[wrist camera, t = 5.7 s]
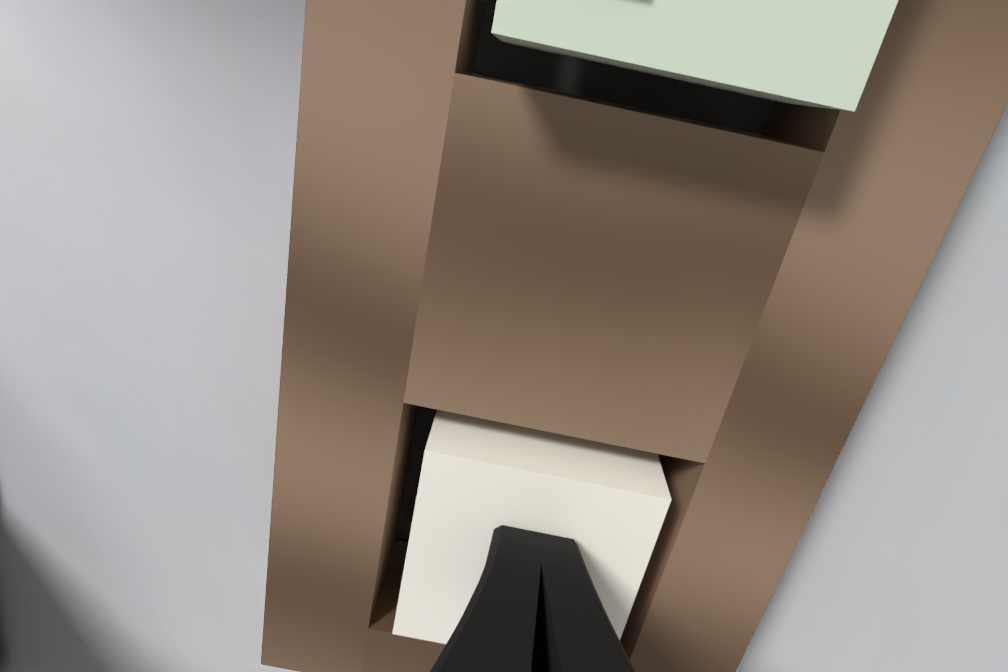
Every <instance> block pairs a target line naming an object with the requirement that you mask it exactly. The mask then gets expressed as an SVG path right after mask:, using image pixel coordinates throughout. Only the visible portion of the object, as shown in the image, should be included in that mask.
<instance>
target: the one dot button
mask: <svg viewBox="0 0 1008 672" xmlns="http://www.w3.org/2000/svg"><path fill="white" fill-rule="evenodd" d="M671 500H672V499H671V496H670V493H669V489H668V486H667V483H666V480H665V476H664V473H663V470H662V467H661V463H660V460H659V457H658V454H656V453H651V452H646V451H641V450H636V449H631V448H626V447H621V446H616V445H611V444H606V443H601V442H596V441H592V440H587V439H582V438H577V437H572V436H567V435H562V434H557V433H552V432H547V431H542V430H537V429H532V428H527V427H522V426H517V425H512V424H507V423H502V422H497V421H492V420H487V419H482V418H477V417H472V416H467V415H462V414H457V413H452V412H447V411H442V410H437V411H436V415H435V418H434V421H433V424H432V428H431V431H430V434H429V437H428V441H427V444H426V447H425V451H424V456H423V462H422V468H421V473H420V479H419V485H418V490H417V496H416V502H415V507H414V513H413V519H412V524H411V530H410V536H409V541H408V547H407V553H406V558H405V564H404V570H403V575H402V581H401V587H400V592H399V598H398V604H397V610H396V615H395V621H394V627H393V632H392V634H395V635H400V636H405V637H410V638H416V639H421V640H426V641H431V642H437V643H442V644H447V642H448V640H449V639H450V637H451V635H452V633H453V632H454V630H455V628H456V626H457V625H458V623H459V621H460V619H461V617H462V615H463V613H464V611H465V609H466V607H467V605H468V603H469V601H470V599H471V597H472V595H473V593H474V591H475V589H476V587H477V584H478V582H479V580H480V577H481V575H482V572H483V570H484V567H485V564H486V560H487V556H488V551H489V547H490V543H491V539H492V535H493V531H494V529H495V528H497V527H499V526H501V525H505V526H510V527H515V528H520V529H525V530H530V531H535V532H540V533H545V534H550V535H555V536H560V537H566V538H571V539H574V540H575V542H576V543H577V545H578V547H579V549H580V552H581V555H582V557H583V560H584V562H585V565H586V567H587V570H588V572H589V575H590V577H591V580H592V582H593V584H594V587H595V589H596V591H597V593H598V596H599V598H600V600H601V602H602V605H603V607H604V609H605V611H606V613H607V616H608V618H609V620H610V622H611V624H612V626H613V628H614V630H615V632H616V634H617V636H618V638H619V640H620V638H621V636H622V633H623V630H624V627H625V625H626V622H627V619H628V617H629V614H630V611H631V608H632V606H633V603H634V600H635V598H636V595H637V592H638V589H639V587H640V584H641V581H642V579H643V576H644V573H645V570H646V568H647V565H648V562H649V560H650V557H651V554H652V551H653V549H654V546H655V543H656V541H657V538H658V535H659V532H660V530H661V527H662V524H663V522H664V519H665V516H666V513H667V511H668V508H669V505H670V503H671Z"/></svg>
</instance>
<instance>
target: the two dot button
mask: <svg viewBox="0 0 1008 672" xmlns="http://www.w3.org/2000/svg"><path fill="white" fill-rule="evenodd" d="M897 3H898V0H497V1H496V7H495V13H494V19H493V24H492V30H491V33H492V34H493V35H494V36H496V37H497V38H498V39H499V40H501V41H502V42H504V43H509V44H514V45H518V46H523V47H528V48H532V49H537V50H541V51H546V52H551V53H555V54H560V55H564V56H569V57H574V58H578V59H583V60H587V61H592V62H597V63H601V64H606V65H611V66H615V67H620V68H624V69H629V70H634V71H638V72H643V73H647V74H652V75H657V76H661V77H666V78H671V79H675V80H680V81H684V82H689V83H694V84H698V85H703V86H707V87H712V88H717V89H721V90H726V91H730V92H735V93H740V94H744V95H749V96H754V97H758V98H763V99H767V100H772V101H777V102H781V103H788V104H796V105H804V106H812V107H821V108H829V109H837V110H845V111H853V112H855V110H856V107H857V105H858V102H859V100H860V97H861V95H862V92H863V90H864V87H865V84H866V82H867V79H868V77H869V74H870V72H871V69H872V67H873V64H874V61H875V59H876V56H877V54H878V51H879V49H880V46H881V44H882V41H883V38H884V36H885V33H886V31H887V28H888V26H889V23H890V21H891V18H892V16H893V13H894V10H895V8H896V5H897Z"/></svg>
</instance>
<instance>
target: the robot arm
mask: <svg viewBox="0 0 1008 672" xmlns="http://www.w3.org/2000/svg"><path fill="white" fill-rule="evenodd" d="M430 672H636V671H635V669H634V667H633V666H632V664H631V662H630V660H629V658H628V656H627V654H626V652H625V650H624V648H623V646H622V644H621V642H620V640H619V638H618V636H617V634H616V632H615V630H614V628H613V626H612V624H611V622H610V620H609V618H608V616H607V613H606V611H605V609H604V607H603V605H602V602H601V600H600V598H599V596H598V593H597V591H596V589H595V587H594V584H593V582H592V580H591V577H590V575H589V572H588V570H587V567H586V565H585V562H584V560H583V557H582V555H581V552H580V549H579V547H578V545H577V543H576V542H575V540H574V539H571V538H566V537H560V536H555V535H550V534H545V533H540V532H535V531H530V530H525V529H520V528H515V527H510V526H505V525H501V526H499V527H497V528H495V529H494V531H493V535H492V539H491V543H490V547H489V551H488V556H487V560H486V564H485V567H484V570H483V572H482V575H481V577H480V580H479V582H478V584H477V587H476V589H475V591H474V593H473V595H472V597H471V599H470V601H469V603H468V605H467V607H466V609H465V611H464V613H463V615H462V617H461V619H460V621H459V623H458V625H457V626H456V628H455V630H454V632H453V633H452V635H451V637H450V639H449V640H448V642H447V644H446V645H445V647H444V649H443V651H442V652H441V654H440V656H439V657H438V659H437V661H436V662H435V664H434V666H433V667H432V669H431V670H430Z"/></svg>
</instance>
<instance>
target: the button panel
mask: <svg viewBox="0 0 1008 672" xmlns="http://www.w3.org/2000/svg"><path fill="white" fill-rule="evenodd" d="M484 5H485V0H306V10H305V25H304V39H303V54H302V69H301V83H300V98H299V113H298V127H297V142H296V157H295V172H294V186H293V201H292V216H291V230H290V245H289V260H288V274H287V289H286V304H285V318H284V333H283V348H282V362H281V377H280V392H279V406H278V421H277V436H276V451H275V465H274V480H273V495H272V509H271V524H270V539H269V553H268V568H267V583H266V597H265V612H264V627H263V641H262V656H261V664H263V665H268V666H273V667H279V668H284V669H289V670H295V671H300V672H430V670H431V669H432V667H433V666H434V664H435V662H436V661H437V659H438V657H439V656H440V654H441V652H442V651H443V649H444V647H445V645H446V644H442V643H437V642H431V641H426V640H421V639H416V638H410V637H405V636H400V635H395V634H392V632H393V627H394V621H395V615H396V610H397V604H398V598H399V592H400V587H401V581H402V575H403V570H404V564H405V558H406V553H407V547H408V542H405V541H400V540H396V535H397V529H398V523H399V517H400V511H401V505H402V499H403V493H404V487H405V481H406V475H407V469H408V463H409V457H410V451H411V445H412V439H413V433H414V427H415V421H416V415H417V409H418V406H422V407H427V408H432V409H437V410H442V411H447V412H452V413H457V414H462V415H467V416H472V417H477V418H482V419H487V420H492V421H497V422H502V423H507V424H512V425H517V426H522V427H527V428H532V429H537V430H542V431H547V432H552V433H557V434H562V435H567V436H572V437H577V438H582V439H587V440H592V441H596V442H601V443H606V444H611V445H616V446H621V447H626V448H631V449H636V450H641V451H646V452H651V453H656V454H658V457H659V460H660V463H661V467H662V470H663V473H664V476H665V480H666V483H667V486H668V489H669V493H670V496H671V499H672V500H671V503H670V505H669V508H668V511H667V513H666V516H665V519H664V522H663V524H662V527H661V530H660V532H659V535H658V538H657V541H656V543H655V546H654V549H653V551H652V554H651V557H650V560H649V562H648V565H647V568H646V570H645V573H644V576H643V579H642V581H641V584H640V587H639V589H638V592H637V595H636V598H635V600H634V603H633V606H632V608H631V611H630V614H629V617H628V619H627V622H626V625H625V627H624V630H623V633H622V636H621V638H620V642H621V644H622V646H623V648H624V650H625V652H626V654H627V656H628V658H629V660H630V662H631V664H632V666H633V667H634V669H635V671H636V672H736V669H737V667H738V665H739V663H740V661H741V659H742V657H743V655H744V653H745V651H746V649H747V646H748V644H749V642H750V640H751V638H752V636H753V634H754V632H755V630H756V628H757V626H758V623H759V621H760V619H761V617H762V615H763V613H764V611H765V609H766V607H767V605H768V603H769V600H770V598H771V596H772V594H773V592H774V590H775V588H776V586H777V584H778V582H779V580H780V577H781V575H782V573H783V571H784V569H785V567H786V565H787V563H788V561H789V559H790V557H791V554H792V552H793V550H794V548H795V546H796V544H797V542H798V540H799V538H800V536H801V534H802V531H803V529H804V527H805V525H806V523H807V521H808V519H809V517H810V515H811V513H812V511H813V508H814V506H815V504H816V502H817V500H818V498H819V496H820V494H821V492H822V490H823V488H824V485H825V483H826V481H827V479H828V477H829V475H830V473H831V471H832V469H833V467H834V465H835V462H836V460H837V458H838V456H839V454H840V452H841V450H842V448H843V446H844V444H845V442H846V439H847V437H848V435H849V433H850V431H851V429H852V427H853V425H854V423H855V421H856V419H857V416H858V414H859V412H860V410H861V408H862V406H863V404H864V402H865V400H866V398H867V396H868V393H869V391H870V389H871V387H872V385H873V383H874V381H875V379H876V377H877V375H878V373H879V370H880V368H881V366H882V364H883V362H884V360H885V358H886V356H887V354H888V352H889V350H890V347H891V345H892V343H893V341H894V339H895V337H896V335H897V333H898V331H899V329H900V327H901V324H902V322H903V320H904V318H905V316H906V314H907V312H908V310H909V308H910V306H911V304H912V301H913V299H914V297H915V295H916V293H917V291H918V289H919V287H920V285H921V283H922V281H923V278H924V276H925V274H926V272H927V270H928V268H929V266H930V264H931V262H932V260H933V258H934V255H935V253H936V251H937V249H938V247H939V245H940V243H941V241H942V239H943V237H944V235H945V232H946V230H947V228H948V226H949V224H950V222H951V220H952V218H953V216H954V214H955V212H956V209H957V207H958V205H959V203H960V201H961V199H962V197H963V195H964V193H965V191H966V188H967V186H968V184H969V182H970V180H971V178H972V176H973V174H974V172H975V170H976V168H977V165H978V163H979V161H980V159H981V157H982V155H983V153H984V151H985V149H986V147H987V145H988V142H989V140H990V138H991V136H992V134H993V132H994V130H995V128H996V126H997V124H998V122H999V119H1000V117H1001V115H1002V113H1003V111H1004V109H1005V107H1006V105H1007V103H1008V0H898V3H897V5H896V8H895V10H894V13H893V16H892V18H891V21H890V23H889V26H888V28H887V31H886V33H885V36H884V38H883V41H882V44H881V46H880V49H879V51H878V54H877V56H876V59H875V61H874V64H873V67H872V69H871V72H870V74H869V77H868V79H867V82H866V84H865V87H864V90H863V92H862V95H861V97H860V100H859V102H858V105H857V107H856V110H855V112H853V111H845V110H837V109H829V108H821V107H812V106H804V105H796V104H788V103H781V102H777V101H775V103H774V106H773V109H772V112H771V115H770V117H769V120H768V123H767V126H766V129H765V132H764V135H759V134H755V133H750V132H745V131H741V130H736V129H732V128H727V127H722V126H718V125H713V124H708V123H704V122H699V121H694V120H690V119H685V118H680V117H676V116H671V115H666V114H662V113H657V112H653V111H648V110H643V109H639V108H634V107H629V106H625V105H620V104H615V103H611V102H606V101H601V100H597V99H592V98H588V97H583V96H578V95H574V94H569V93H564V92H560V91H555V90H550V89H546V88H541V87H536V86H532V85H527V84H522V83H518V82H513V81H509V80H504V79H499V78H495V77H490V76H485V75H481V74H476V73H473V72H474V66H475V60H476V53H477V47H478V41H479V35H480V29H481V23H482V17H483V11H484Z"/></svg>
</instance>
